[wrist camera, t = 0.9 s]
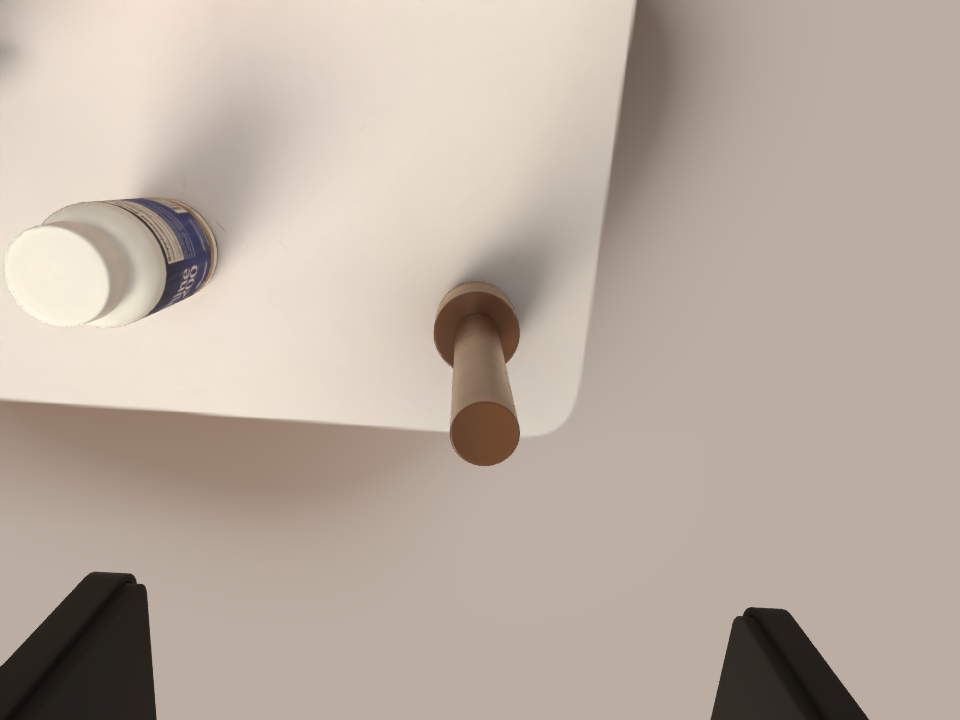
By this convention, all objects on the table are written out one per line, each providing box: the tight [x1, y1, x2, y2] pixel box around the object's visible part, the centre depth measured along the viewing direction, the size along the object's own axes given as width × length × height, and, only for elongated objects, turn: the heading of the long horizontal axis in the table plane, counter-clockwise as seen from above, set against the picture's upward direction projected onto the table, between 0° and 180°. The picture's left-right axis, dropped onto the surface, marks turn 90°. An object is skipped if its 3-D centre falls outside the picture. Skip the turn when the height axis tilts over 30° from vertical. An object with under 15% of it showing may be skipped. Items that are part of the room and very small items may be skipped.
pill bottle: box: [4, 198, 217, 328], centre depth 29 cm, size 5×5×10 cm
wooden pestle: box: [434, 282, 520, 466], centre depth 28 cm, size 4×4×16 cm
